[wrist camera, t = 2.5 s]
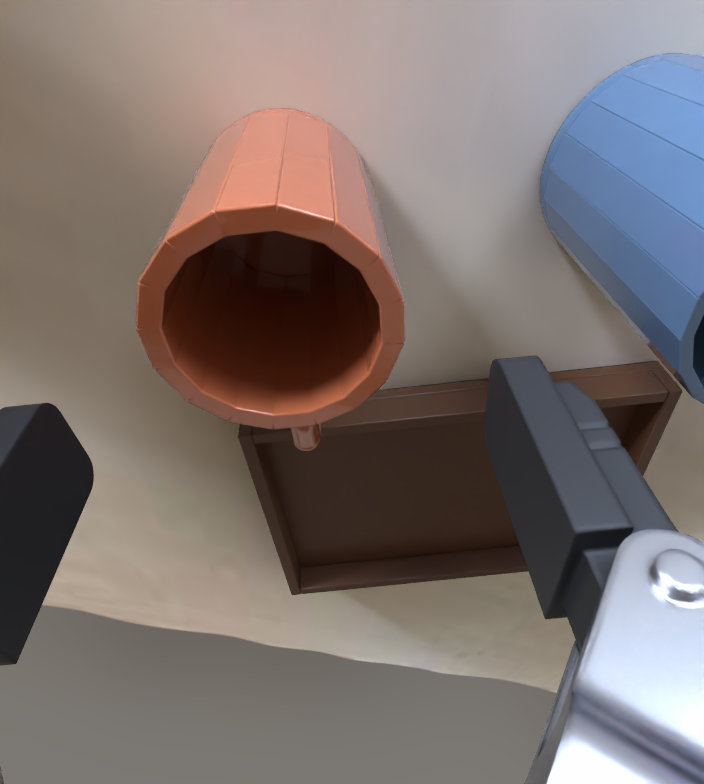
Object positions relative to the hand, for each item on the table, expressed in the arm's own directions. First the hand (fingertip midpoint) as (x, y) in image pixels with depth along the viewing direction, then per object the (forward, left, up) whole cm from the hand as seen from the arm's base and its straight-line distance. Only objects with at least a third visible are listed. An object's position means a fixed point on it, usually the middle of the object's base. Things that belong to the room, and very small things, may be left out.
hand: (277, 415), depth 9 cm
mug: (0, -1, -11) cm, 11 cm away
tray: (+6, -16, -11) cm, 20 cm away
